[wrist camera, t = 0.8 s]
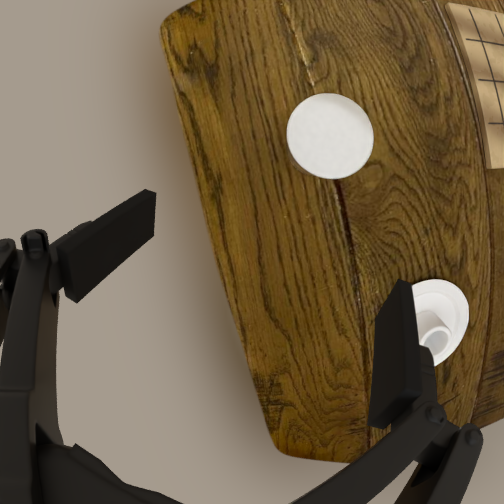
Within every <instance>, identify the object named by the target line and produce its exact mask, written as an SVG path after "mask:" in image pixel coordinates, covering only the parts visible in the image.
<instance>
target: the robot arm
mask: <svg viewBox="0 0 504 504" xmlns="http://www.w3.org/2000/svg"><path fill="white" fill-rule="evenodd" d="M155 206H156V193H155V192H152V191H149V190H146V189H144V190H143V191H141V192H139V193H138V194H136V195H134V196H133V197H131V198H129V199H128V200H126V201H124V202H123V203H121V204H119V205H118V206H116V207H115V208H113V209H111V210H110V211H108V212H107V213H105V214H104V215H102V216H100V217H99V218H97V219H96V220H95V221H93V222H92V221H88V222H85V223H82V224H80V225H78V226H77V227H75V228H74V229H73V230H71V231H69V232H68V233H67V234H65V235H63V236H62V237H60V238H59V239H57V240H56V241H55V242H53V243H52V244H50V245H49V242H48V236H47V233H46V231H44V230H42V229H34V230H30V231H28V232H26V233H24V234H23V235H22V237H21V238H20V239H21V244H22V248H23V250H18V249H16V245H15V241H14V240H13V239H1V240H0V282H1V283H2V284H1V286H0V346H1V344H2V342H3V339H4V343H3V349H2V357H1V365H0V504H183V503H180V502H178V501H176V500H174V499H172V498H169V497H167V496H165V495H163V494H161V493H159V492H155V491H151V490H147V489H143V488H139V487H136V486H132V485H129V484H126V483H124V482H123V481H121V480H120V479H119V478H118V477H117V476H116V475H115V474H114V473H113V472H112V471H111V470H110V469H109V468H108V467H107V466H106V465H105V464H104V463H103V462H102V461H101V460H100V459H98V458H96V457H95V456H93V455H92V454H91V453H89V452H88V451H86V450H85V449H83V448H82V447H80V446H79V445H77V444H76V443H75V445H74V446H73V447H70V446H66V445H64V444H63V439H62V435H61V433H60V430H59V426H58V416H57V395H56V345H57V324H58V309H59V297H60V296H59V290H60V289H61V288H62V287H64V291H65V296H66V297H67V298H69V299H71V300H72V301H74V302H75V303H78V302H79V301H80V300H81V299H83V298H84V296H86V295H87V294H88V293H89V292H90V291H91V290H92V289H93V288H95V287H96V286H97V285H98V284H99V283H100V282H101V281H102V280H103V279H105V278H106V277H107V276H108V275H109V274H110V273H111V272H112V271H114V270H115V269H116V268H117V267H118V266H119V265H120V264H121V263H123V262H124V261H125V260H126V259H127V258H128V257H130V256H131V255H132V254H133V253H134V252H135V251H136V250H138V249H139V248H140V247H141V246H142V245H144V244H145V243H146V242H147V241H148V240H150V239H151V238H152V237H153V236H154V223H155ZM390 423H391V432H389V433H388V434H387V435H386V436H385V437H383V438H382V439H381V440H380V441H378V442H377V443H376V444H375V445H374V446H372V447H371V448H370V449H369V450H367V451H366V452H365V453H364V454H362V455H361V456H360V457H358V458H357V459H356V460H354V461H353V462H352V463H350V464H349V465H348V466H346V467H345V468H344V469H342V470H341V471H339V472H338V473H336V474H335V475H334V476H332V477H331V478H329V479H328V480H326V481H325V482H323V483H322V484H320V485H319V486H317V487H316V488H314V489H312V490H311V491H309V492H308V493H306V494H305V495H303V496H301V497H299V498H298V499H296V500H294V501H293V502H291V503H289V504H367V503H368V502H369V501H370V500H371V499H372V498H374V497H375V496H376V495H377V494H378V493H380V492H381V491H382V490H383V489H384V488H385V487H386V486H387V485H388V484H389V483H391V482H392V481H393V480H394V479H395V478H396V477H397V476H398V475H399V474H400V473H401V472H402V471H403V470H404V469H405V468H406V467H407V466H408V465H409V464H410V463H411V462H412V461H413V460H415V461H416V462H418V465H417V467H416V469H415V470H414V472H413V474H412V476H411V478H410V479H409V481H408V483H407V484H406V486H405V487H404V489H403V491H402V492H401V494H400V495H399V497H398V498H397V500H396V501H395V503H394V504H460V503H461V501H462V499H463V496H464V494H465V492H466V489H467V486H468V484H469V482H470V479H471V477H472V474H473V472H474V469H475V466H476V463H477V460H478V458H479V455H480V452H481V449H482V445H483V435H482V433H481V431H480V429H479V428H478V427H477V426H476V425H474V424H472V423H467V424H465V425H463V426H462V427H461V428H459V427H458V426H456V425H454V424H453V423H451V422H449V421H448V420H447V416H446V412H445V410H444V409H443V407H442V406H441V405H440V404H439V403H437V389H436V377H435V369H434V358H433V355H432V353H431V351H430V349H429V348H428V347H425V346H422V345H419V336H418V327H417V318H416V311H415V303H414V297H413V290H412V284H411V283H408V282H406V281H403V280H400V279H398V280H397V282H396V284H395V286H394V287H393V289H392V291H391V293H390V294H389V296H388V298H387V300H386V301H385V303H384V305H383V306H382V308H381V310H380V311H379V313H378V315H377V316H376V318H375V339H374V358H373V373H372V385H371V396H370V406H369V415H368V423H367V425H368V426H372V427H376V428H380V429H385V428H386V427H387V426H388V425H389V424H390Z"/></svg>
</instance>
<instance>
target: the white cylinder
mask: <svg viewBox="0 0 504 504" xmlns="http://www.w3.org/2000/svg"><path fill="white" fill-rule="evenodd" d="M373 142H374V135H373V129H372V125H371V123H370V120H369V118H368V116H367V115H366V113H365V112H364V111H363V109H362V108H361V107H360V106H359V105H357V104H356V103H355V102H354V101H352V100H350V99H349V98H347V97H344V96H341V95H338V94H332V93H323V94H317V95H314V96H311V97H309V98H307V99H305V100H304V101H302V102H301V103H300V104H299V105H298V106H297V107H296V108H295V109H294V111H293V112H292V114H291V116H290V118H289V121H288V125H287V154H288V157H289V160H290V161H291V163H292V164H293V166H294V167H295V168H296V169H297V170H299V171H300V172H302V173H304V174H306V175H309V176H315V177H320V178H326V179H340V178H344V177H347V176H350V175H352V174H354V173H355V172H357V171H358V170H359V169H361V168H362V167H363V166H364V164H365V163H366V162H367V160H368V159H369V157H370V154H371V152H372V148H373Z"/></svg>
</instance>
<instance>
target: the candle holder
mask: <svg viewBox="0 0 504 504" xmlns="http://www.w3.org/2000/svg"><path fill="white" fill-rule="evenodd" d="M412 290H413V297H414V303H415V311H416V318H417V327H418V336H419V345H422V346H425V347H428V348H429V349H430V351H431V353H432V355H433V358H434V366H436V365H438V364H439V363H441V362H442V361H443V360H445V359H446V358H447V357H448V356H449V355H450V354H451V353H452V352H453V351H454V350H455V349H456V347H457V346H458V345H459V343H460V341H461V340H462V338H463V336H464V333H465V331H466V328H467V325H468V321H469V308H468V302H467V300H466V298H465V296H464V294H463V293H462V291H461V290H460V289H459V288H458V287H457V286H456V285H454V284H452V283H451V282H448V281H445V280H440V279H432V280H426V281H422V282H419V283H417V284H414V285H413V286H412Z"/></svg>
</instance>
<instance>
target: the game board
mask: <svg viewBox="0 0 504 504" xmlns="http://www.w3.org/2000/svg"><path fill="white" fill-rule="evenodd" d="M444 7H445V9H446V12H447V14H448V17H449V19H450V22H451V24H452V27H453V29H454V32H455V35H456V38H457V41H458V43H459V46H460V49H461V52H462V56H463V59H464V62H465V65H466V69H467V72H468V76H469V79H470V83H471V87H472V91H473V95H474V99H475V103H476V108H477V113H478V117H479V122H480V128H481V133H482V139H483V146H484V152H485V160H486V168H487V169H498V168H504V14H502V13H498V12H494V11H489V10H485V9H481V8H476V7H471V6H465V5H460V4H454V3H447V4H446V5H445V6H444Z"/></svg>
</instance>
